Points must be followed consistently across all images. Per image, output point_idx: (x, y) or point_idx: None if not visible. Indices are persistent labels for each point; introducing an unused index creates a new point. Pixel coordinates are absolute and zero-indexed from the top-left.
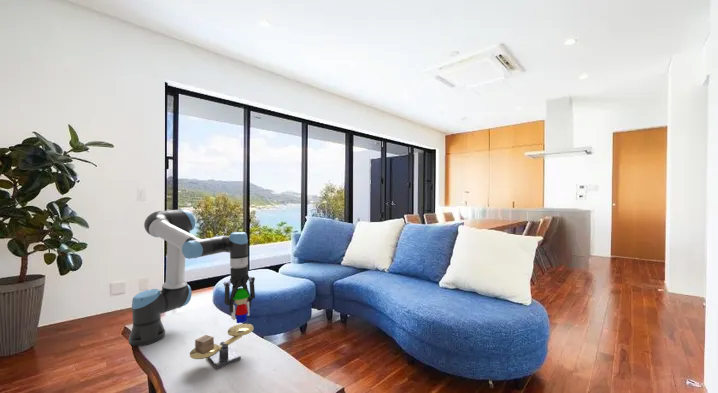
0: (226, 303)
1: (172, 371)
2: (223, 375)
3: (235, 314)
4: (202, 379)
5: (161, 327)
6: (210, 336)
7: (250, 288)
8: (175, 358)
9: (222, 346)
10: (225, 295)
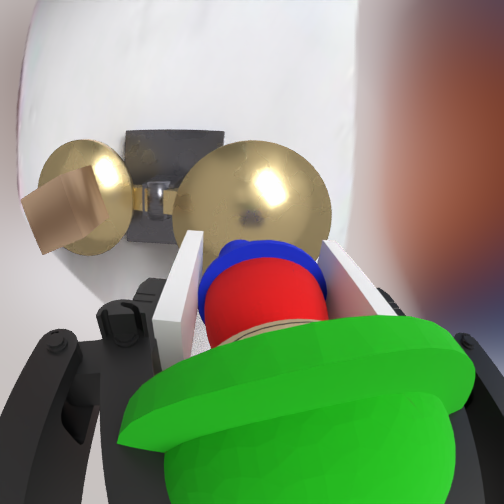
0: (66, 404)
1: (37, 146)
2: (139, 284)
3: (204, 296)
4: (89, 257)
5: None
6: (73, 215)
7: (496, 453)
8: (64, 62)
9: (147, 215)
10: (13, 469)
